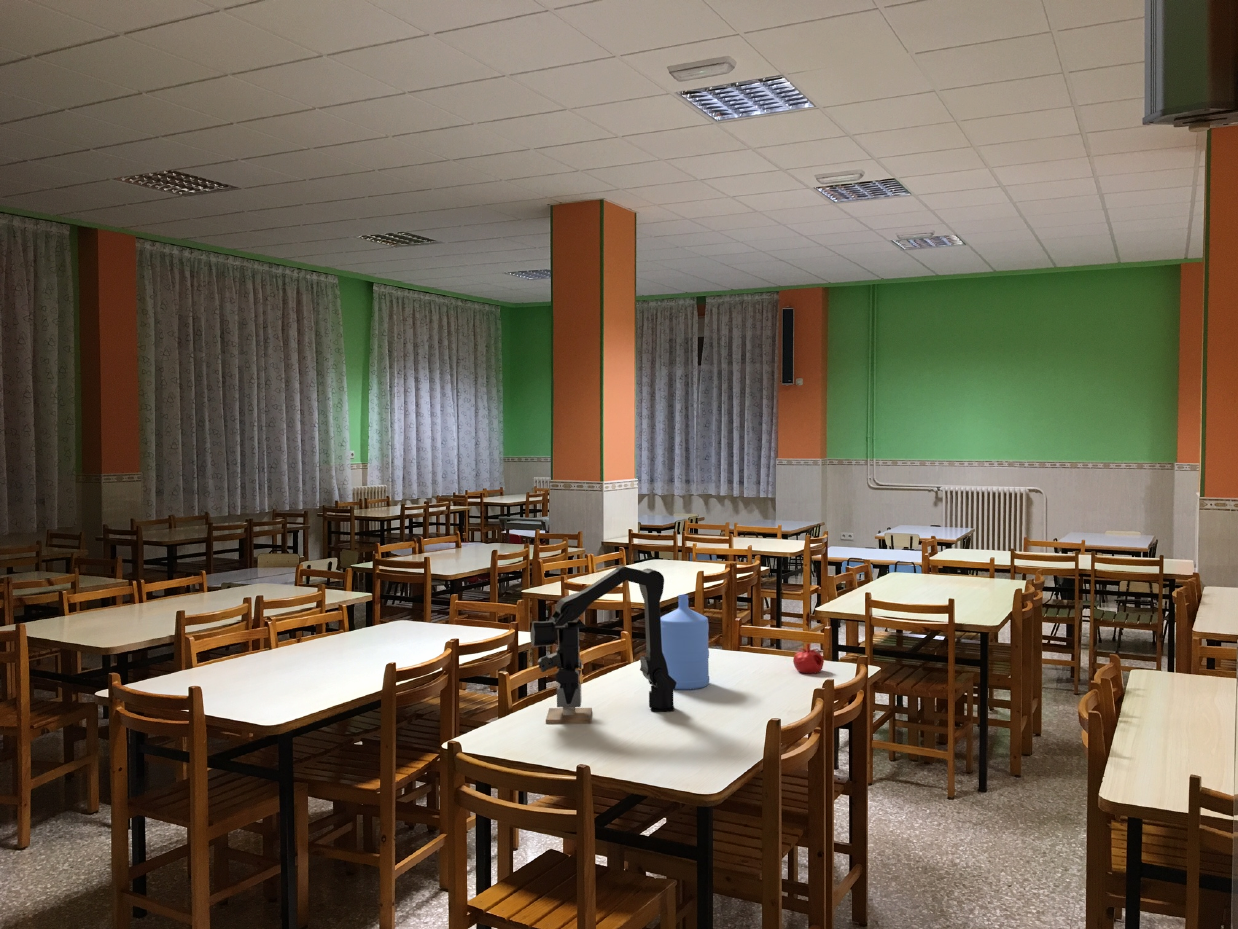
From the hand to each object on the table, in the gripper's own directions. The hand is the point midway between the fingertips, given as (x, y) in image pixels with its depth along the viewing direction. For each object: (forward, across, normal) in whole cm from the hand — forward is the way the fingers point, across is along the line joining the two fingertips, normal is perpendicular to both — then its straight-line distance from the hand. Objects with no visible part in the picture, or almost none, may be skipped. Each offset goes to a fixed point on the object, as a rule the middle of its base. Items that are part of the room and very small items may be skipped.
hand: (569, 700), depth 269 cm
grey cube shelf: (+1, 0, 0) cm, 1 cm away
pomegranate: (+5, -53, +76) cm, 93 cm away
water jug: (+5, -37, +34) cm, 50 cm away
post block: (+5, 0, 0) cm, 5 cm away
